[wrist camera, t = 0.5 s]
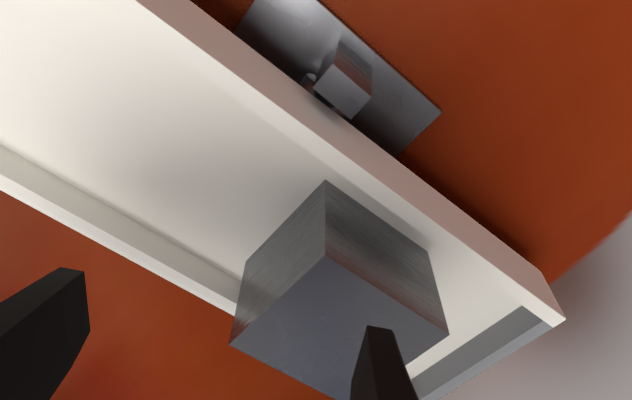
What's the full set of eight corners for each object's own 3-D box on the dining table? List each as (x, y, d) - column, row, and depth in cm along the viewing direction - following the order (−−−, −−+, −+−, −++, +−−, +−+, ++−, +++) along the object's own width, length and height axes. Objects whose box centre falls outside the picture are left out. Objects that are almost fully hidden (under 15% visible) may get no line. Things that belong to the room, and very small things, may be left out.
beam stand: (440, 109, 19) (454, 148, 16) (263, 281, 25) (246, 337, 21) (280, -35, 17) (259, -23, 14) (124, 187, 23) (82, 232, 19)
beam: (540, 271, 21) (566, 319, 19) (407, 364, 25) (415, 413, 22) (-208, -307, 12) (-338, -350, 9) (-251, -20, 15) (-352, -1, 13)
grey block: (427, 251, 19) (449, 335, 15) (344, 319, 21) (347, 405, 17) (325, 179, 17) (325, 255, 14) (245, 261, 19) (228, 344, 16)
